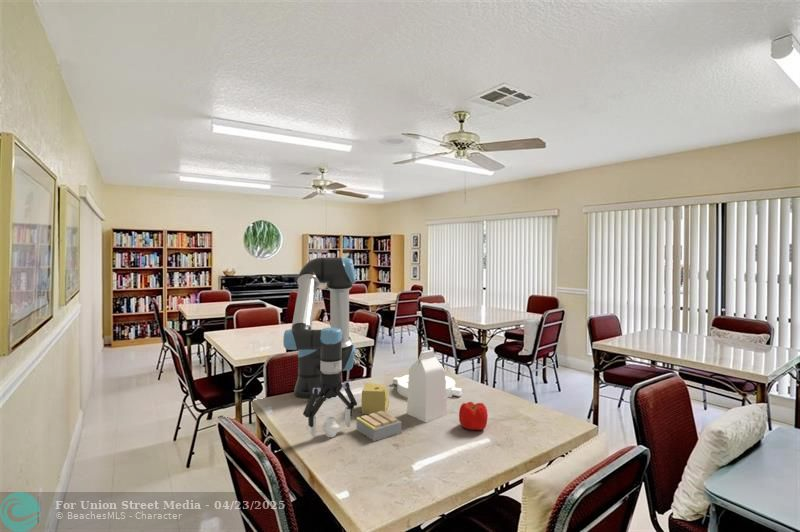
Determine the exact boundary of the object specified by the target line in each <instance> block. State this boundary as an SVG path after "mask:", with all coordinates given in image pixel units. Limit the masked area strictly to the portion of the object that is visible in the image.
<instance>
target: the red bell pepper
mask: <svg viewBox="0 0 800 532" xmlns="http://www.w3.org/2000/svg"><path fill="white" fill-rule="evenodd" d="M488 416H489V415H488V409H487V406H486V404H484V403H483V402H477V403H474V402H473V401H468V402H463V403H462V404H460V407H459V413H458V420H459V423H460V424H459V425H460V426H462V427H463V428H464V429H466V430H469V431H470V430H472V431H473V430H475V431H481V430H484V429H486V428H487V423H488Z"/></svg>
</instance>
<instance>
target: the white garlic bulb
mask: <svg viewBox="0 0 800 532" xmlns="http://www.w3.org/2000/svg"><path fill="white" fill-rule="evenodd" d="M340 426H341V425H340V423H339V422H338V420H337V418H336V417H335V416H333V415H331V416H328V417H326V419H325V421H324V423H323V424H322V426H321V428H322V430H323V431H322V432H323V433H324V435H325V436H326V437H327V438H330V437H331V438H334V437H336V435H337V433H338V431H339V429H340Z"/></svg>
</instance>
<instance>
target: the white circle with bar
mask: <svg viewBox="0 0 800 532" xmlns="http://www.w3.org/2000/svg"><path fill="white" fill-rule="evenodd" d="M408 380H409V374H406V375H403V376H401V377H398V376H395V377H394V378H392V384H394V385H397V387H396V389H397V390H396V391H397V393H398V395H400V396H401V397H402V396H403V397H404V398H407V397H408ZM445 382H446V399H448V397H449V398H451V397H453V396H454V397H455V396H456V397H461V396H462V395H463V388H460V387H456V381H455V379H453V378H452V377H450V376H447V375H445ZM452 395H453V396H452ZM450 396H451V397H450Z"/></svg>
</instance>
